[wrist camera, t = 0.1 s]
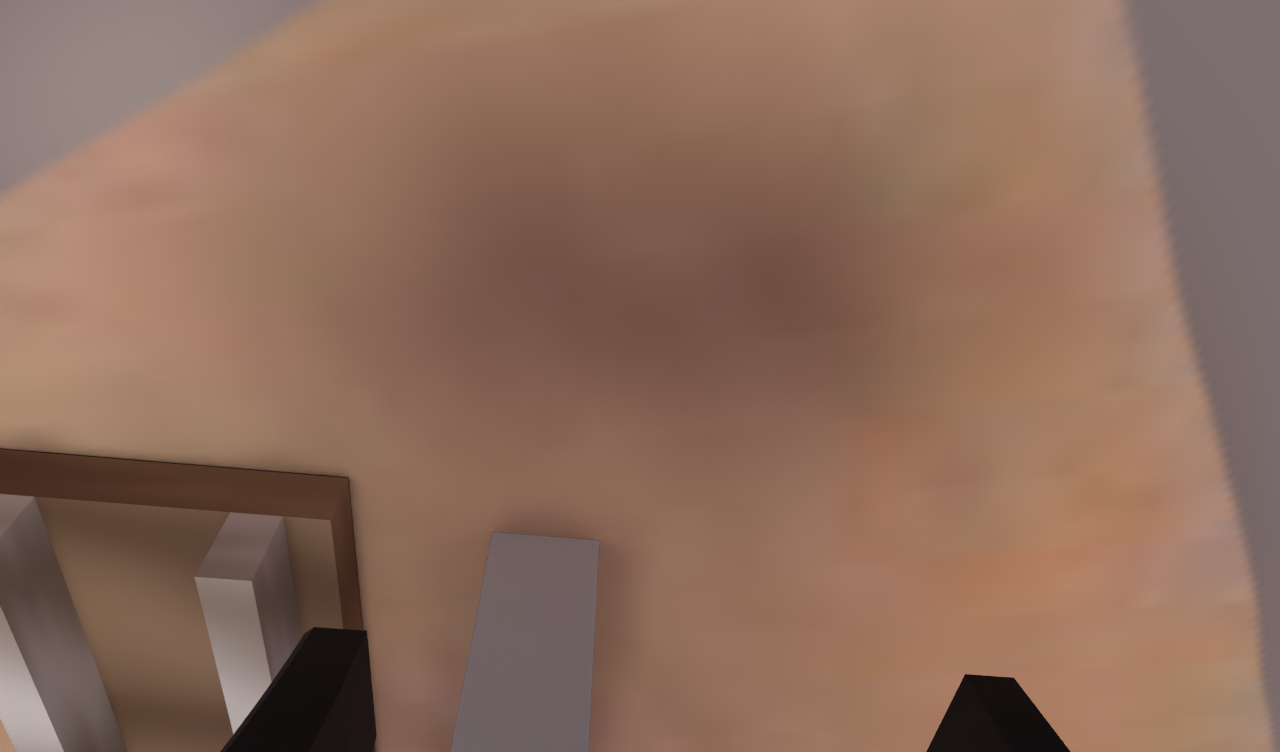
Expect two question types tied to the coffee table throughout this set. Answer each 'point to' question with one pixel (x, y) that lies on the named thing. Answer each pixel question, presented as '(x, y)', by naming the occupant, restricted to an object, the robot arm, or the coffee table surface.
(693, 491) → the coffee table surface
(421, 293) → the coffee table surface
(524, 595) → the door panel
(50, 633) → the track base
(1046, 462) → the coffee table surface
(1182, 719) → the coffee table surface
